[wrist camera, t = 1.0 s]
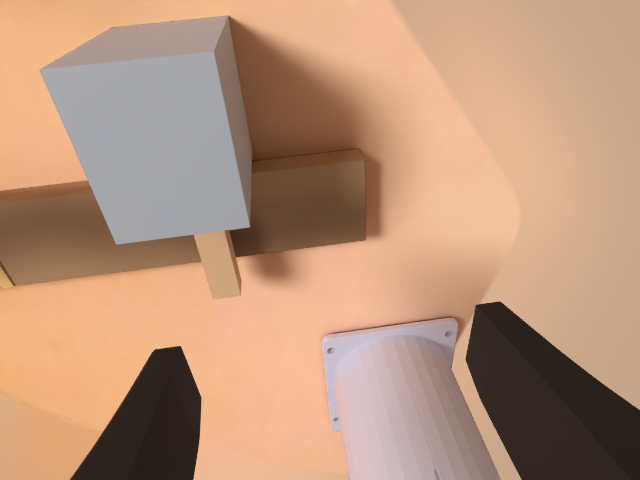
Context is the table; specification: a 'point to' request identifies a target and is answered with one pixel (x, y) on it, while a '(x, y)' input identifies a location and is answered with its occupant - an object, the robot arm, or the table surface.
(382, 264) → the table surface
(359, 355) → the robot arm
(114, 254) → the board
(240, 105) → the grey tall block
